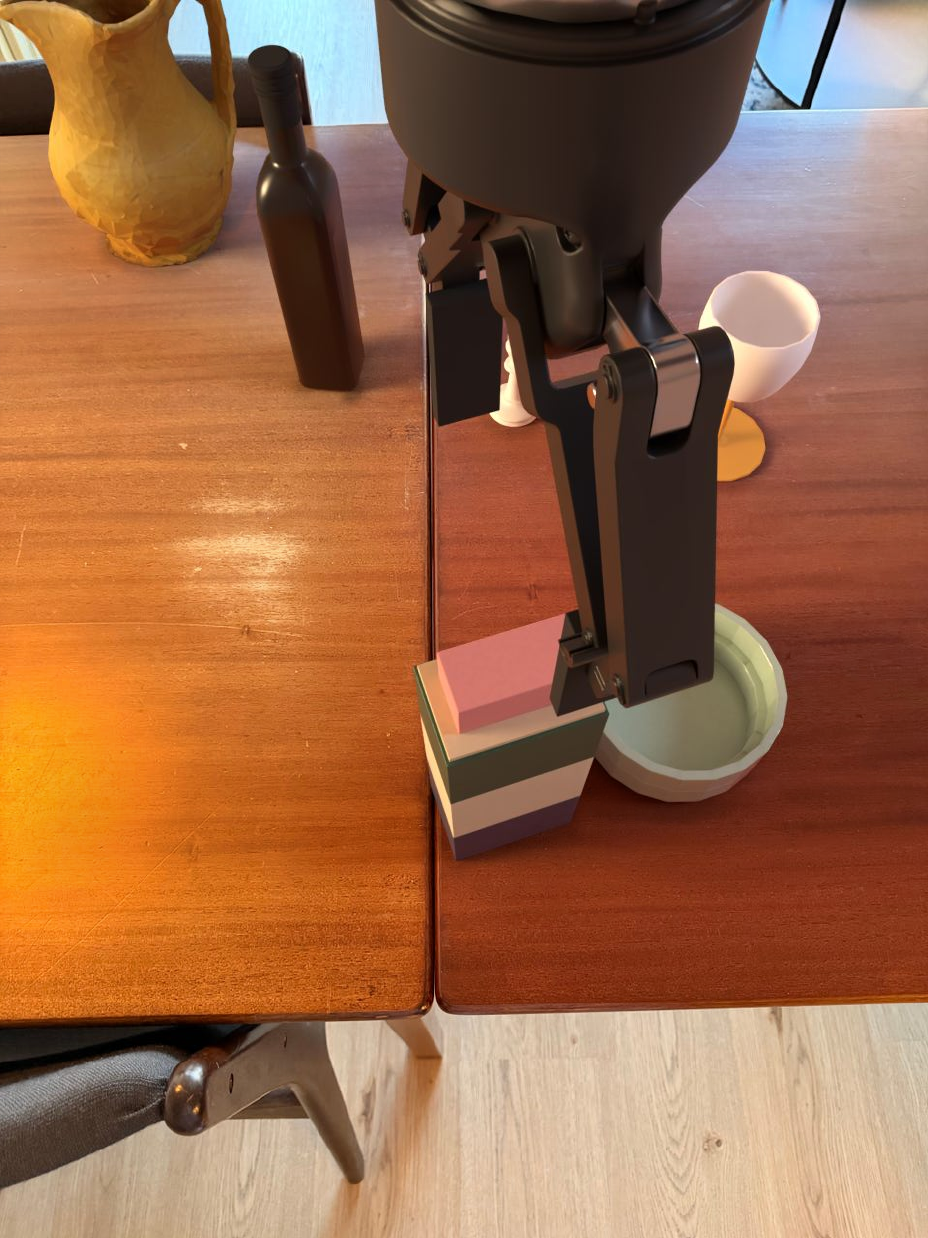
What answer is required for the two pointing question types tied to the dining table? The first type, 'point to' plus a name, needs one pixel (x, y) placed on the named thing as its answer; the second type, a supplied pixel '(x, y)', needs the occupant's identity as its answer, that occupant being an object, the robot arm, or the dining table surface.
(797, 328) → the cup
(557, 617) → the eraser
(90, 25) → the pitcher
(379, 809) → the dining table surface
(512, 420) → the chess piece
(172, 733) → the dining table surface
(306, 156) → the wine bottle
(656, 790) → the bowl
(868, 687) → the dining table surface
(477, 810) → the book stack
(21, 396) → the dining table surface
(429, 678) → the felt pad
